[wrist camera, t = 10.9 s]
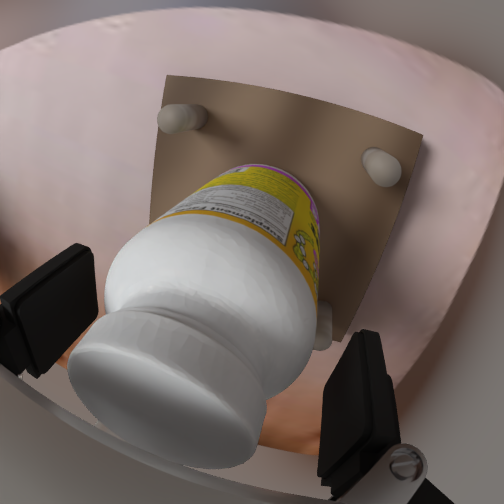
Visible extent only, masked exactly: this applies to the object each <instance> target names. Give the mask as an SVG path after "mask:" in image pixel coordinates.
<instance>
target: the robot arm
mask: <svg viewBox="0 0 504 504" xmlns="http://www.w3.org/2000/svg"><path fill="white" fill-rule="evenodd" d="M0 300H1V303H2V304H1V305H0V504H454V503H453V502H452V501H451V500H450V499H449V498H448V497H446V496H445V495H444V494H443V493H442V492H441V491H440V490H439V489H437V488H436V487H435V486H434V485H433V484H432V483H431V482H430V481H429V480H427V479H426V478H425V477H426V474H427V469H428V465H427V460H426V458H425V456H424V454H423V453H422V452H421V451H420V450H419V449H418V448H416V447H415V446H413V445H410V444H406V443H403V444H401V438H400V430H399V422H398V415H397V408H396V402H395V395H394V389H393V383H392V379H391V377H390V376H389V375H387V371H386V366H385V360H384V355H383V350H382V344H381V339H380V335H379V333H378V332H374V331H370V330H365V329H362V330H361V331H360V332H355V333H354V334H353V336H352V338H351V340H350V341H349V343H348V345H347V347H346V349H345V351H344V353H343V354H342V356H341V358H340V360H339V362H338V364H337V365H336V367H335V369H334V371H333V372H332V374H331V376H330V378H329V379H328V381H327V383H326V385H325V387H324V391H323V405H322V421H321V435H320V448H319V459H318V469H317V476H318V477H322V480H321V486H329V487H331V494H332V496H331V497H330V498H329V499H328V500H323V499H317V498H312V497H306V496H300V495H294V494H288V493H283V492H277V491H272V490H268V489H263V488H259V487H254V486H251V485H247V484H242V483H238V482H235V481H231V480H227V479H224V478H220V477H216V476H213V475H210V474H207V473H203V472H200V471H197V470H194V469H191V468H188V467H185V466H183V465H182V464H178V463H175V462H172V461H169V460H167V459H164V458H162V457H159V456H157V455H154V454H152V453H149V452H147V451H145V450H142V449H140V448H138V447H136V446H133V445H132V444H130V443H128V442H127V441H125V440H124V439H122V438H120V437H119V436H118V435H116V434H115V433H113V432H112V431H111V430H109V429H108V428H107V427H106V426H105V425H103V424H102V423H101V422H100V421H99V420H98V421H97V422H96V424H95V426H93V425H91V424H89V423H87V422H86V421H84V420H82V419H81V418H79V417H77V416H75V415H74V414H72V413H70V412H69V411H67V410H65V409H64V408H62V407H60V406H59V405H57V404H56V403H54V402H53V401H51V400H49V399H48V398H47V397H45V396H44V395H42V394H40V393H39V392H38V391H36V390H35V389H33V388H32V387H31V386H29V385H28V384H26V383H25V382H24V381H23V371H24V370H25V369H26V370H27V372H28V373H29V374H31V375H32V376H33V377H35V378H36V379H38V378H39V376H40V375H41V374H45V373H46V372H47V371H48V370H49V369H50V368H51V367H52V366H53V364H54V363H55V362H56V361H57V360H58V359H59V358H60V357H61V356H62V354H63V353H64V352H65V351H66V350H67V349H68V348H69V347H70V346H71V345H72V344H73V342H74V341H75V340H76V339H77V338H78V337H79V336H80V335H81V334H82V333H83V332H84V331H85V330H86V329H87V328H88V326H89V325H90V324H91V323H92V322H93V321H94V320H95V319H96V318H97V315H98V302H97V292H96V281H95V268H94V255H93V253H92V252H91V249H90V248H89V247H87V246H84V245H81V244H79V243H75V244H73V245H72V246H70V247H68V248H67V249H65V250H64V251H62V252H61V253H59V254H58V255H56V256H55V257H53V258H52V259H50V260H49V261H48V262H46V263H45V264H43V265H42V266H40V267H39V268H37V269H36V270H35V271H33V272H32V273H30V274H29V275H28V276H26V277H25V278H23V279H22V280H21V281H19V282H18V283H17V284H15V285H14V286H13V287H11V288H10V289H9V290H7V291H6V292H5V293H3V294H2V295H1V296H0Z"/></svg>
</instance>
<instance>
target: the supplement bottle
mask: <svg viewBox="0 0 504 504" xmlns="http://www.w3.org/2000/svg"><path fill="white" fill-rule="evenodd" d="M319 254H320V225H319V216H318V212H317V208H316V205H315V203H314V201H313V198H312V197H311V195H310V193H309V192H308V190H307V189H306V188H305V187H304V185H303V184H302V183H301V182H300V181H298V180H297V179H296V178H295V177H293V176H292V175H291V174H289V173H287V172H286V171H284V170H282V169H279V168H276V167H272V166H268V165H263V164H248V165H242V166H238V167H235V168H233V169H230V170H228V171H226V172H224V173H222V174H221V175H219V176H218V177H216V178H215V179H213V180H212V181H210V182H209V183H207V184H205V185H204V186H203V187H201V188H200V189H198V190H197V191H196V192H194V193H193V194H191V195H190V196H188V197H187V198H186V199H184V200H183V201H181V202H180V203H179V204H177V205H176V206H175V207H173V208H172V209H170V210H169V211H168V212H166V213H165V214H163V215H162V216H161V217H159V218H158V219H156V220H155V221H154V222H152V223H151V224H149V225H148V226H147V227H145V228H144V229H143V230H141V231H140V232H139V233H138V234H136V235H135V236H134V237H133V238H131V239H130V240H129V241H128V242H127V243H126V244H125V245H124V246H123V248H122V249H121V250H120V251H119V253H118V254H117V256H116V257H115V259H114V261H113V263H112V265H111V267H110V270H109V273H108V276H107V279H106V285H105V294H104V302H105V311H106V315H105V316H103V317H101V318H100V319H98V320H97V321H96V322H95V323H94V324H93V326H92V327H91V328H90V330H89V331H88V332H87V333H86V335H85V336H84V337H83V339H82V340H81V341H80V342H79V343H78V345H77V346H76V347H75V348H74V350H73V351H72V352H71V354H70V357H69V359H68V364H67V368H68V375H69V379H70V382H71V384H72V386H73V389H74V390H75V392H76V394H77V396H78V397H79V398H80V400H81V401H82V403H83V404H84V405H85V406H86V408H87V409H88V410H89V411H90V412H91V413H92V414H93V415H94V416H95V417H96V418H97V419H98V420H99V421H100V422H101V423H102V424H103V425H105V426H106V427H107V428H108V429H109V430H111V431H112V432H113V433H115V434H116V435H118V436H119V437H120V438H122V439H124V440H125V441H127V442H128V443H130V444H132V445H133V446H136V447H138V448H140V449H142V450H145V451H147V452H149V453H152V454H154V455H157V456H159V457H162V458H164V459H167V460H169V461H172V462H175V463H178V464H182V465H186V466H190V467H195V468H203V469H223V468H231V467H235V466H237V465H240V464H243V463H244V462H246V461H247V460H248V459H250V457H252V455H253V454H254V452H255V450H256V447H257V444H258V440H259V437H260V433H261V429H262V425H263V421H264V418H265V415H266V409H267V405H266V400H267V399H269V398H272V397H274V396H276V395H277V394H279V393H280V392H282V391H283V390H285V389H286V388H287V387H288V386H290V385H291V384H292V383H293V382H294V381H295V380H296V379H297V378H298V376H299V375H300V374H301V372H302V371H303V369H304V368H305V366H306V365H307V363H308V361H309V358H310V356H311V353H312V350H313V346H314V342H315V334H316V326H317V304H318V280H319Z"/></svg>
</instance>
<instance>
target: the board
mask: <svg viewBox="0 0 504 504" xmlns="http://www.w3.org/2000/svg"><path fill="white" fill-rule="evenodd" d="M157 122H158V134H157V142H156V150H155V159H154V169H153V179H152V191H151V204H150V220H149V224H151V223H152V222H154V221H155V220H156V219H158V218H159V217H161V216H162V215H163V214H165V213H166V212H168V211H169V210H170V209H172V208H173V207H175V206H176V205H177V204H179V203H180V202H181V201H183V200H184V199H186V198H187V197H188V196H190V195H191V194H193V193H194V192H196V191H197V190H198V189H200V188H201V187H203V186H204V185H205V184H207V183H209V182H210V181H212V180H213V179H215V178H216V177H218V176H219V175H221V174H222V173H224V172H226V171H228V170H230V169H233V168H235V167H238V166H242V165H248V164H263V165H268V166H272V167H276V168H279V169H282V170H284V171H286V172H287V173H289V174H291V175H292V176H293V177H295V178H296V179H297V180H298V181H300V182H301V183H302V184H303V185H304V187H305V188H306V189H307V190H308V192H309V193H310V195H311V197H312V198H313V201H314V203H315V205H316V208H317V212H318V216H319V225H320V254H319V280H318V304H317V326H316V334H315V342H314V346H313V350H317V351H321V350H325V349H327V348H329V347H330V346H331V344H332V340H333V341H338V342H341V341H342V339H343V337H344V335H345V333H346V331H347V329H348V327H349V325H350V323H351V321H352V319H353V317H354V315H355V313H356V311H357V309H358V307H359V305H360V303H361V301H362V299H363V297H364V294H365V292H366V290H367V288H368V286H369V283H370V281H371V279H372V277H373V274H374V272H375V270H376V268H377V265H378V263H379V261H380V258H381V256H382V253H383V251H384V248H385V246H386V244H387V241H388V239H389V236H390V233H391V231H392V228H393V226H394V223H395V220H396V218H397V215H398V212H399V210H400V207H401V204H402V201H403V198H404V195H405V193H406V190H407V187H408V184H409V181H410V178H411V175H412V171H413V168H414V165H415V162H416V159H417V155H418V152H419V148H420V145H421V141H422V138H423V135H422V134H419V133H417V132H415V131H412V130H410V129H407V128H405V127H402V126H399V125H397V124H394V123H391V122H389V121H386V120H383V119H380V118H377V117H374V116H371V115H368V114H365V113H362V112H359V111H356V110H353V109H350V108H346V107H343V106H340V105H336V104H333V103H329V102H325V101H322V100H318V99H314V98H310V97H306V96H302V95H298V94H293V93H289V92H284V91H280V90H275V89H270V88H264V87H259V86H254V85H248V84H242V83H235V82H229V81H221V80H214V79H205V78H196V77H185V76H173V75H167V76H166V82H165V87H164V93H163V99H162V106H161V110H160V112H159V114H158V117H157Z"/></svg>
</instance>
